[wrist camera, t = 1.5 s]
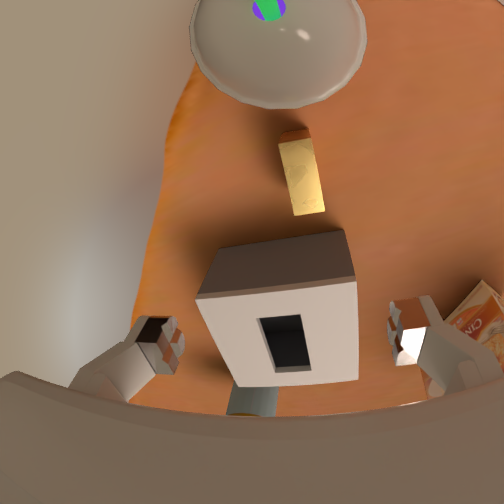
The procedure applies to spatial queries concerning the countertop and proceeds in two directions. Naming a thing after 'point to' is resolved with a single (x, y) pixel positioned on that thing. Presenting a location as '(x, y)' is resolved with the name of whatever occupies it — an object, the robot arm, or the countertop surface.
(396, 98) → the countertop surface
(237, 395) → the bottle
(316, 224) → the countertop surface
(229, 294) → the coin box
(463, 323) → the coffeecake box
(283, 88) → the smoothie
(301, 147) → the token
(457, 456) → the robot arm
